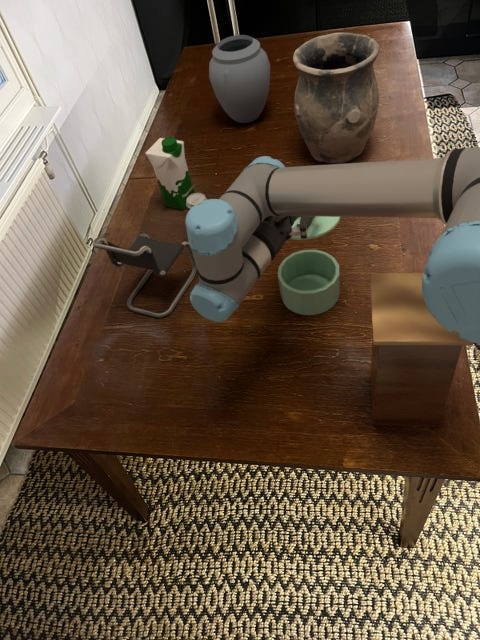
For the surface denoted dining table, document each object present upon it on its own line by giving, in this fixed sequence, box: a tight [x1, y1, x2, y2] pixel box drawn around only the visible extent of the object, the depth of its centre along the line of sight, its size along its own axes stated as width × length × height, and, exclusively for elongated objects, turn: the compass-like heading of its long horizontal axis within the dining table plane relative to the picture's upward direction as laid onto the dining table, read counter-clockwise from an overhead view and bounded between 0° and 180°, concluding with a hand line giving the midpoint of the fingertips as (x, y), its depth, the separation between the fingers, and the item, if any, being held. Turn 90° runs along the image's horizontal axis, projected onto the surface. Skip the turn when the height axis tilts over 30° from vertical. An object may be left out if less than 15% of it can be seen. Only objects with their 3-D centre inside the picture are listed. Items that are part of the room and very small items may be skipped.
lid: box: [289, 216, 342, 241], centre depth 103 cm, size 15×15×10 cm
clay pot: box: [292, 31, 380, 165], centre depth 146 cm, size 22×23×30 cm
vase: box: [208, 34, 271, 124], centre depth 169 cm, size 20×20×24 cm
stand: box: [369, 271, 474, 428], centre depth 92 cm, size 14×14×28 cm
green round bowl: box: [277, 249, 341, 316], centre depth 121 cm, size 14×14×8 cm
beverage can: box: [186, 192, 208, 213], centre depth 138 cm, size 6×6×12 cm
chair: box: [92, 233, 197, 319], centre depth 124 cm, size 13×17×22 cm
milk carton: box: [145, 136, 196, 211], centre depth 147 cm, size 9×9×20 cm
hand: (314, 172), depth 104 cm, fingers closed on lid, 3 cm apart
